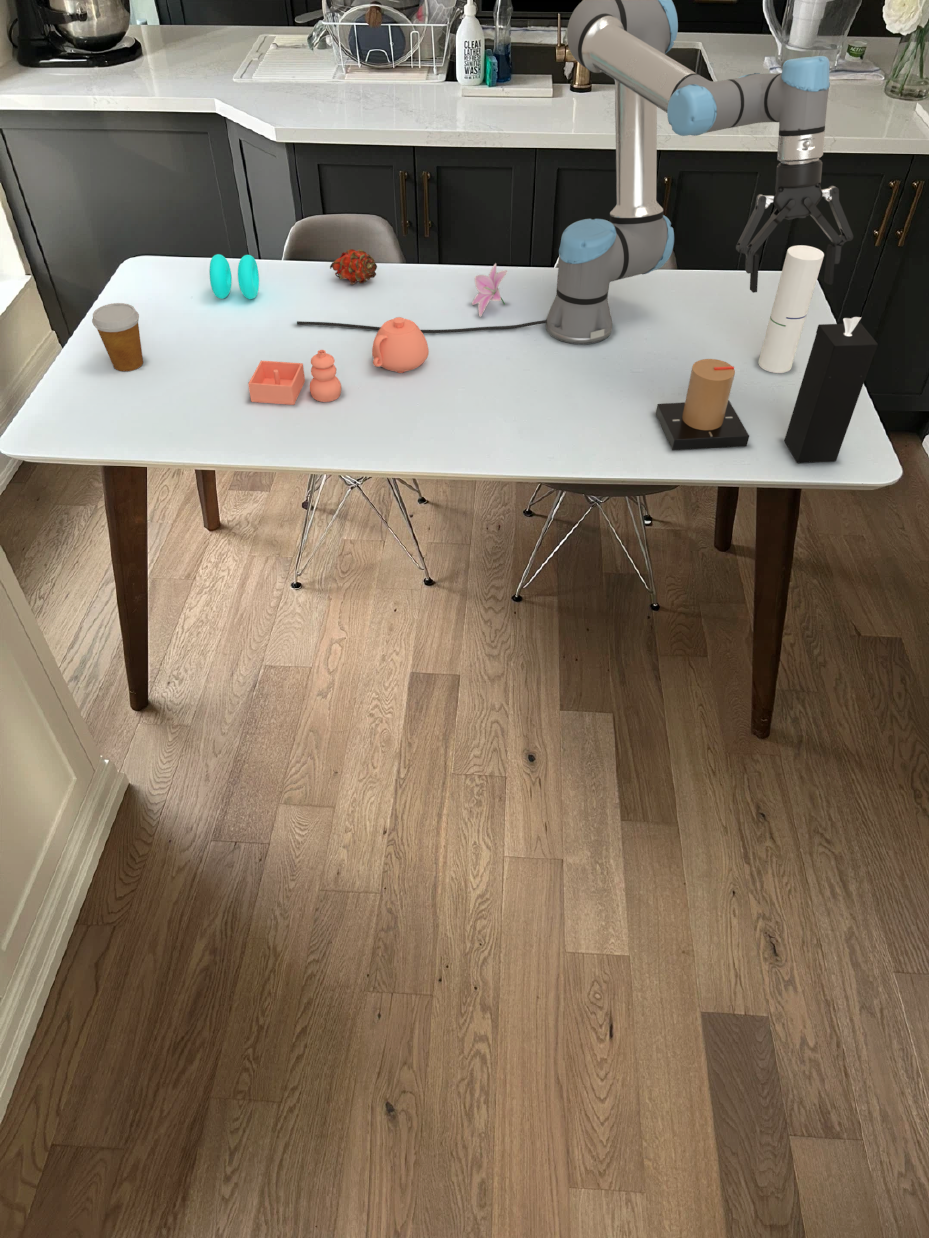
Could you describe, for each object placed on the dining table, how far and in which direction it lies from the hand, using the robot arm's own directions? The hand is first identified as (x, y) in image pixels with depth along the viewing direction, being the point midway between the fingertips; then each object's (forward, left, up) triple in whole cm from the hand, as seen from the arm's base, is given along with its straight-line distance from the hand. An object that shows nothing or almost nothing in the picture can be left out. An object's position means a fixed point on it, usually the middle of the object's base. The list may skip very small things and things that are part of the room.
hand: (790, 287), depth 171 cm
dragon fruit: (-96, +44, -27) cm, 109 cm away
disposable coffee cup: (-135, -4, -27) cm, 138 cm away
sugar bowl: (-77, +6, -27) cm, 82 cm away
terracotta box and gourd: (-95, -9, -27) cm, 99 cm away
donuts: (-122, +31, -27) cm, 129 cm away
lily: (-61, +36, -27) cm, 76 cm away
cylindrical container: (+5, +20, -27) cm, 34 cm away
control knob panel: (-12, -9, -27) cm, 31 cm away
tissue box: (+9, -13, -27) cm, 31 cm away
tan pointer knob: (-12, -9, -24) cm, 28 cm away
